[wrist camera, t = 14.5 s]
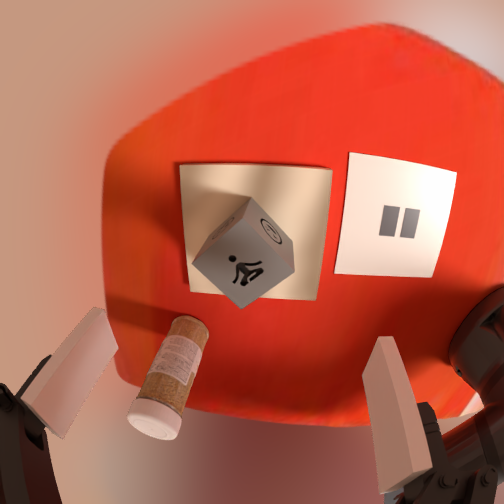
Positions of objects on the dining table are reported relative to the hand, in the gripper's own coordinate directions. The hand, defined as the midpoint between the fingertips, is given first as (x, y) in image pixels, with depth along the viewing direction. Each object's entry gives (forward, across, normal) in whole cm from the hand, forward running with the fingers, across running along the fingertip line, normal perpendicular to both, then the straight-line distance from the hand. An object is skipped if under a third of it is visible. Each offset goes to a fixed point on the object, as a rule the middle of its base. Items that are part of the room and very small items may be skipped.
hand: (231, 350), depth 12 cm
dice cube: (+12, +1, 0) cm, 13 cm away
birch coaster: (+13, 0, 0) cm, 13 cm away
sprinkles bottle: (+14, +8, +12) cm, 19 cm away
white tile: (+14, -12, -2) cm, 19 cm away
